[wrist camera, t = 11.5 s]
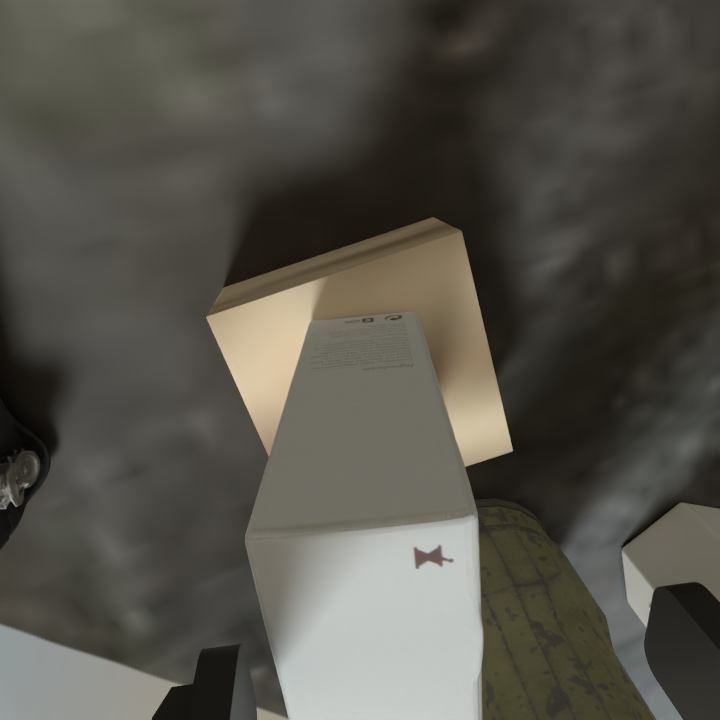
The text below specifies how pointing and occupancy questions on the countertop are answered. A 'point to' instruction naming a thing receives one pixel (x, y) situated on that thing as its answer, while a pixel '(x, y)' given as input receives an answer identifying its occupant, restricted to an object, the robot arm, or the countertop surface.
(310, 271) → the beech block
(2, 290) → the countertop surface
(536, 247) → the countertop surface
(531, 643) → the thermos
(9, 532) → the can opener
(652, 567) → the jar
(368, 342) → the skincare box
